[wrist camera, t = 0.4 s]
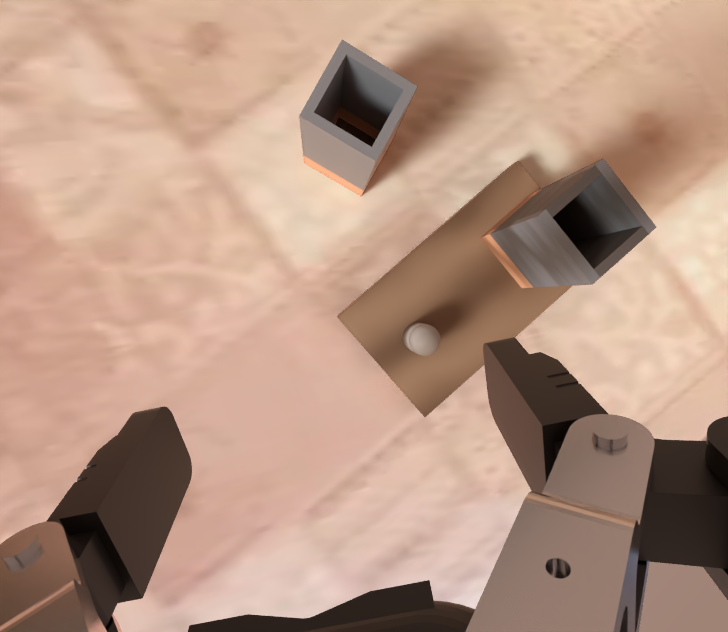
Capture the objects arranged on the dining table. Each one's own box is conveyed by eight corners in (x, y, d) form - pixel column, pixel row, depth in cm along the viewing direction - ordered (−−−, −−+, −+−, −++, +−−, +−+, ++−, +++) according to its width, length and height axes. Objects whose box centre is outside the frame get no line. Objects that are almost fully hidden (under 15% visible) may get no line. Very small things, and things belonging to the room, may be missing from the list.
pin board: (336, 316, 37) (345, 324, 26) (507, 167, 38) (589, 111, 27) (419, 411, 38) (462, 459, 27) (584, 263, 39) (694, 249, 28)
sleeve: (361, 196, 37) (375, 161, 28) (304, 163, 37) (299, 115, 27) (392, 140, 37) (417, 86, 28) (335, 106, 37) (342, 39, 27)
